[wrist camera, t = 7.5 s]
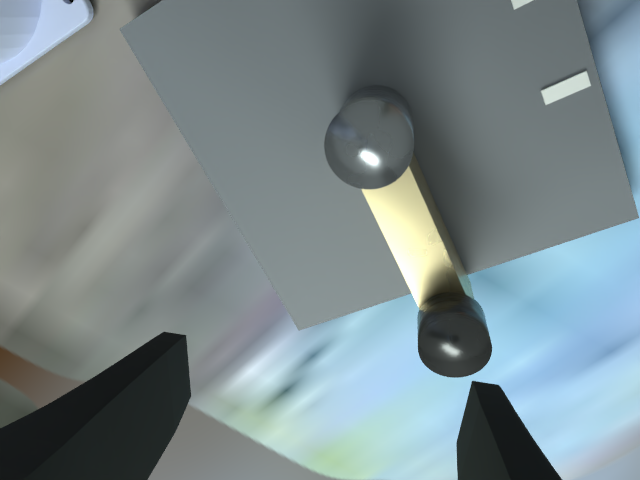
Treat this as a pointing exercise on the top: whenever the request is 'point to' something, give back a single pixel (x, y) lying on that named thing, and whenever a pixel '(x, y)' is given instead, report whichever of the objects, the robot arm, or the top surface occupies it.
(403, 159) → the crank
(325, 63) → the plate
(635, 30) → the top surface
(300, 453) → the top surface
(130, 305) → the top surface
